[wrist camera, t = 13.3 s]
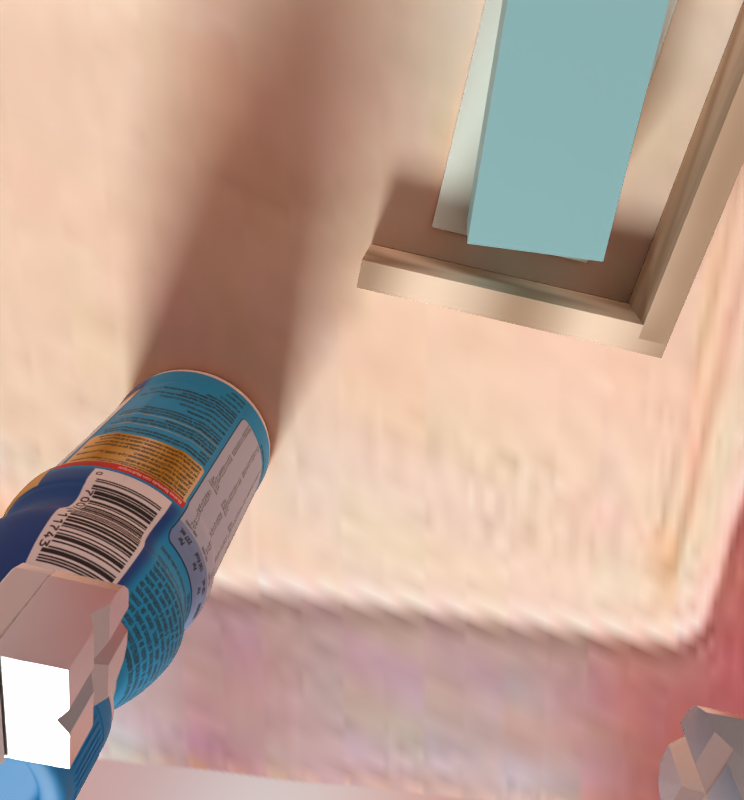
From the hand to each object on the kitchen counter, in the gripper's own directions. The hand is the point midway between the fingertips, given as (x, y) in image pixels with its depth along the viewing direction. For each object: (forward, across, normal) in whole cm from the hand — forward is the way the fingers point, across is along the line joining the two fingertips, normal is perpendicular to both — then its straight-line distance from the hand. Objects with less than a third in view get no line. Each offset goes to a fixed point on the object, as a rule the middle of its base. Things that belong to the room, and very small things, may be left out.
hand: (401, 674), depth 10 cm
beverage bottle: (+24, +10, +12) cm, 29 cm away
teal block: (+24, -3, -7) cm, 25 cm away
